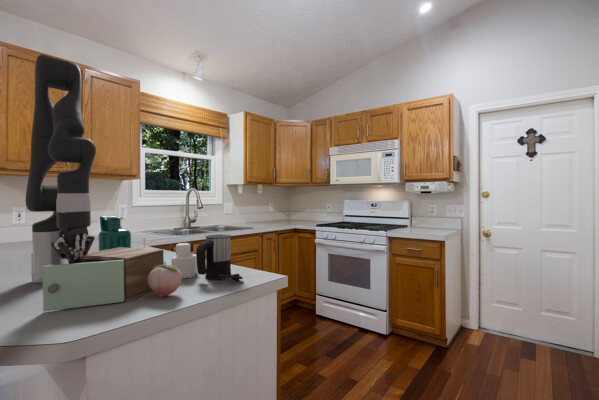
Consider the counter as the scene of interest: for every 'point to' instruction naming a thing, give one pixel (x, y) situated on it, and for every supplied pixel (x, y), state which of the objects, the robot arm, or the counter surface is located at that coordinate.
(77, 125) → the robot arm
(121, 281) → the cabinet door
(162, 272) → the decorative fruit
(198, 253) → the milk frother
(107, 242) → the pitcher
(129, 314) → the counter surface
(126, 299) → the cabinet
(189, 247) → the medicine bottle
